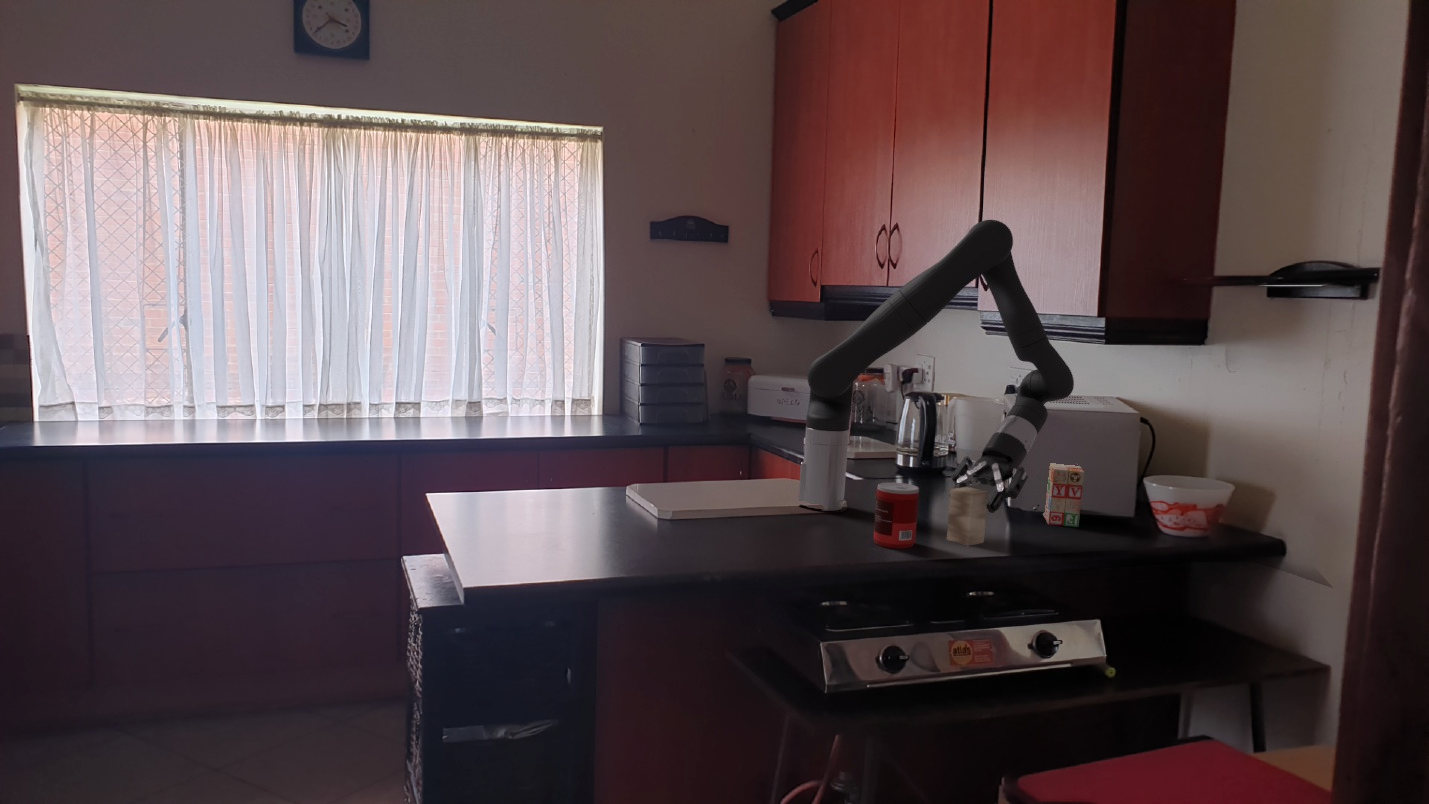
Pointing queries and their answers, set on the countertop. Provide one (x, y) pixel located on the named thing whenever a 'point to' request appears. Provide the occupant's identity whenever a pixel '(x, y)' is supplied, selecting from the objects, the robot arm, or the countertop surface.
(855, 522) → the countertop surface
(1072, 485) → the stack of blocks
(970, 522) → the oak block
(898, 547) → the canned food
